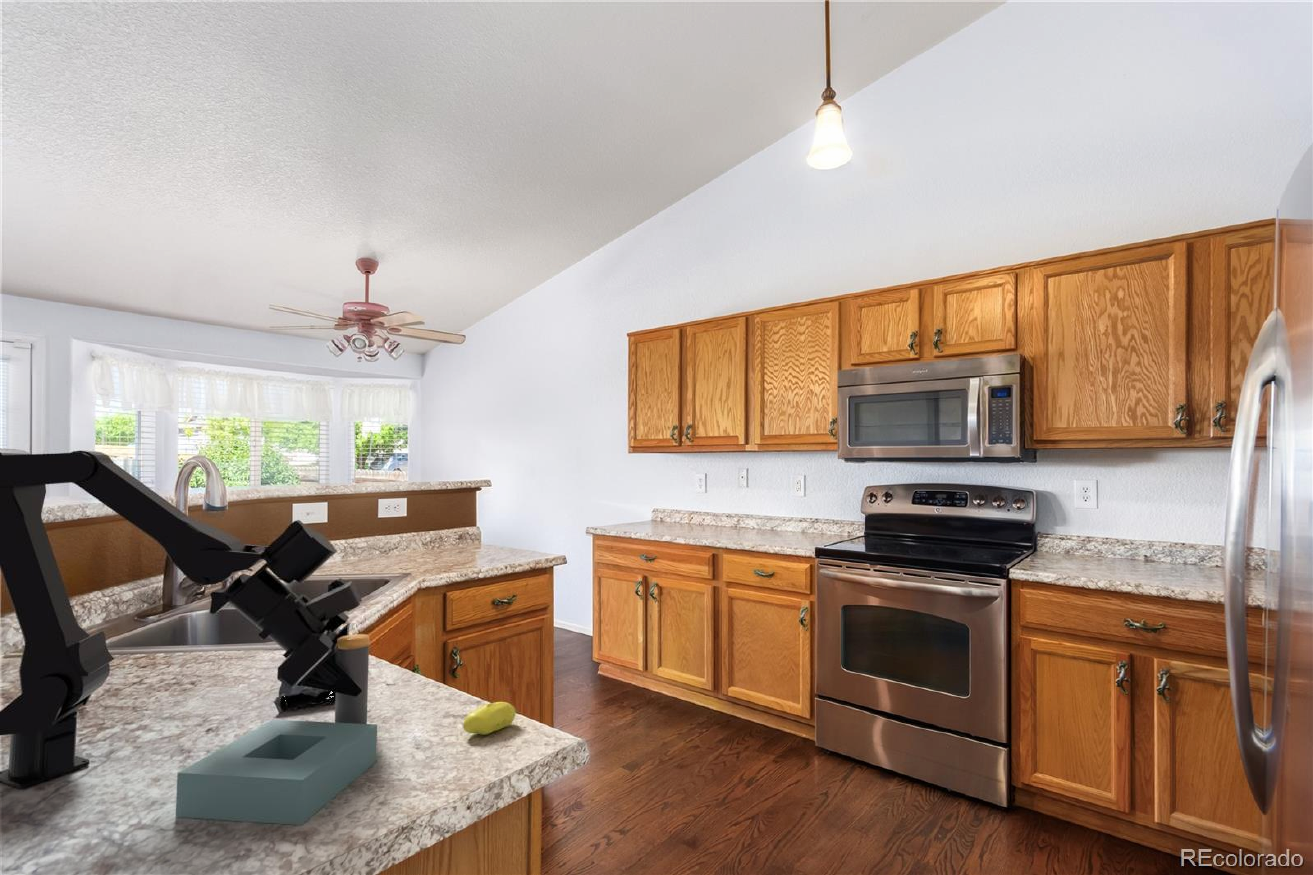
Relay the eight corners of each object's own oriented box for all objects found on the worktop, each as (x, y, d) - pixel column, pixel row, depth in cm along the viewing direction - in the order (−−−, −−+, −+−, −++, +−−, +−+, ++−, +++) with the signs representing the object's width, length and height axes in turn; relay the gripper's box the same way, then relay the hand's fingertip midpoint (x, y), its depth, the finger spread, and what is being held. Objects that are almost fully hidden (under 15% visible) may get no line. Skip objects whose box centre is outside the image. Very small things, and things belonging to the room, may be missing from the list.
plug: (327, 737, 84) (330, 640, 85) (351, 726, 88) (354, 633, 89) (349, 742, 83) (352, 643, 84) (373, 730, 87) (375, 636, 87)
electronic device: (346, 714, 97) (346, 672, 110) (341, 681, 96) (342, 643, 109) (276, 733, 93) (285, 687, 106) (271, 698, 92) (281, 656, 105)
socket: (175, 817, 65) (177, 772, 65) (271, 755, 79) (272, 719, 79) (301, 825, 64) (302, 779, 64) (376, 761, 78) (377, 724, 78)
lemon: (522, 728, 88) (522, 700, 88) (469, 745, 83) (469, 715, 83) (507, 719, 91) (508, 692, 91) (455, 735, 86) (455, 706, 86)
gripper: (310, 574, 77) (405, 657, 80) (334, 555, 94) (411, 623, 97) (233, 645, 74) (334, 728, 77) (273, 611, 91) (353, 680, 94)
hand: (363, 683), depth 86 cm, fingers open, 8 cm apart
